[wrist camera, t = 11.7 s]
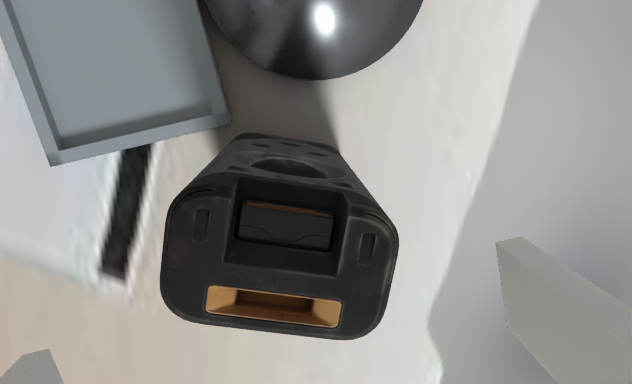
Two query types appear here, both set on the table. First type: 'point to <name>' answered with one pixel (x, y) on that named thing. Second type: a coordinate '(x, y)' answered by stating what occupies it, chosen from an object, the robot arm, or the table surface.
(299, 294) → the electronic device
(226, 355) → the table surface
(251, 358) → the table surface
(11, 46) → the tray
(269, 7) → the crank base
